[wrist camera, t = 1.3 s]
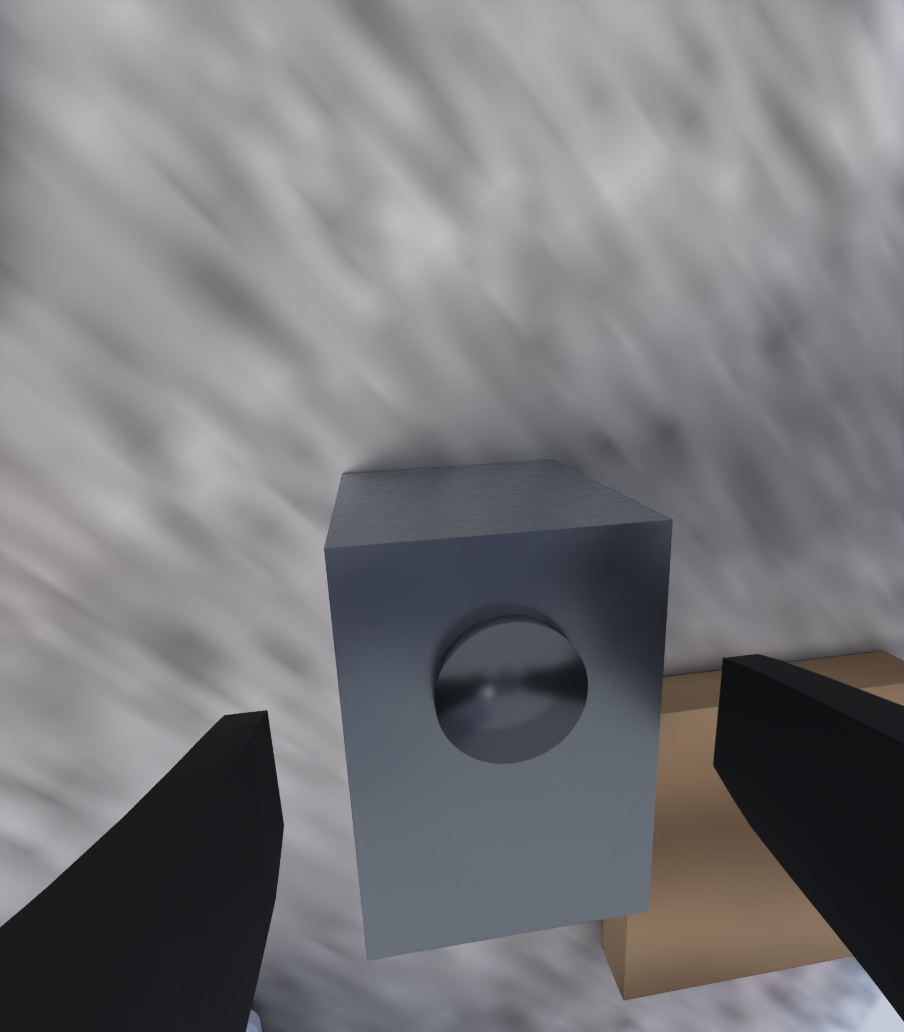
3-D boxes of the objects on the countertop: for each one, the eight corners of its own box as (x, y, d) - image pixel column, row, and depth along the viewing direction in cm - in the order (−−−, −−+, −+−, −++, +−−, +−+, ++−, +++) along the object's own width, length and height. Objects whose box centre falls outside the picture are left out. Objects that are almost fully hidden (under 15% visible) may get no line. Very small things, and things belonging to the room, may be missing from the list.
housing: (550, 720, 15) (656, 927, 9) (367, 743, 14) (367, 979, 9) (551, 458, 13) (684, 525, 8) (342, 472, 13) (322, 556, 7)
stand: (840, 904, 18) (881, 950, 17) (602, 947, 17) (623, 1000, 16) (884, 650, 16) (935, 678, 14) (611, 683, 15) (637, 717, 13)
